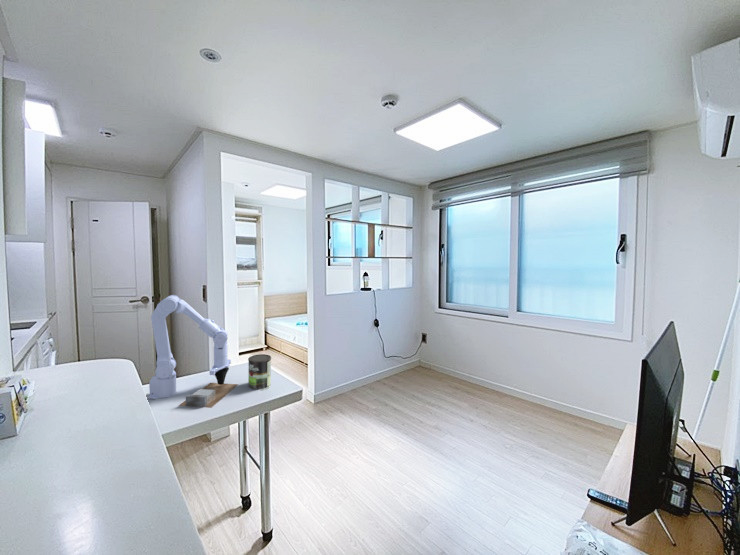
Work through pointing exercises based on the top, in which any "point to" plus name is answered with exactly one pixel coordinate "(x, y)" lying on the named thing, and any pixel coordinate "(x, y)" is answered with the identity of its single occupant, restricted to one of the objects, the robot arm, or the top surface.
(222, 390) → the slide rail board
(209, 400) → the block
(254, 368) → the coffee can
